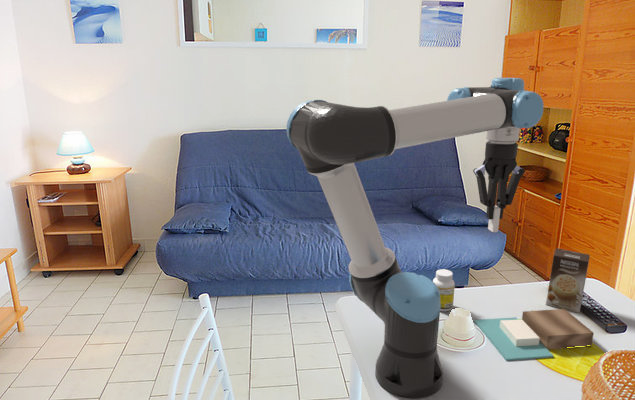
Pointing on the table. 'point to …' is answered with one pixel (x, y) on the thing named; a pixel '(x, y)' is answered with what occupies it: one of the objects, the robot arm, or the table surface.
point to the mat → (510, 342)
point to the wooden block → (558, 328)
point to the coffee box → (567, 280)
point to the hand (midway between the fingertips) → (492, 230)
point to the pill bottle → (445, 288)
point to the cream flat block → (519, 332)
